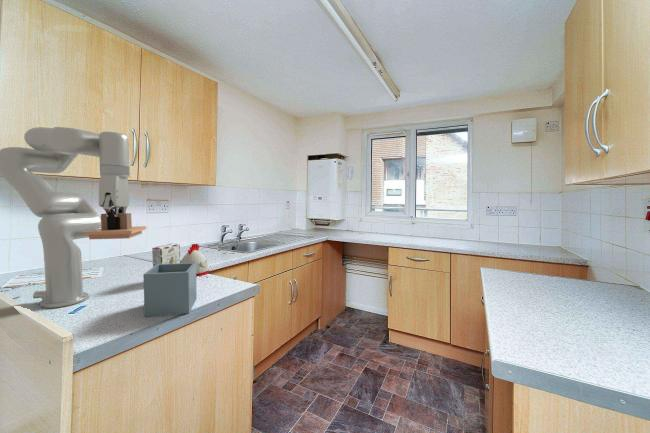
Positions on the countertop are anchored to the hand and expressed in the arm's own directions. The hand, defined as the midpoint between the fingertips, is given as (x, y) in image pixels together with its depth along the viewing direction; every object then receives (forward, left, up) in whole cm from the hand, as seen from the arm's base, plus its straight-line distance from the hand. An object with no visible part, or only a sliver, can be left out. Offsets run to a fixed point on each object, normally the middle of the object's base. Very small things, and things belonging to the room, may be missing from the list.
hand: (116, 228), depth 87 cm
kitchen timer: (+15, +43, -28) cm, 53 cm away
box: (+16, 0, -28) cm, 32 cm away
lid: (0, 0, -3) cm, 3 cm away
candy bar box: (+6, +32, -28) cm, 43 cm away
